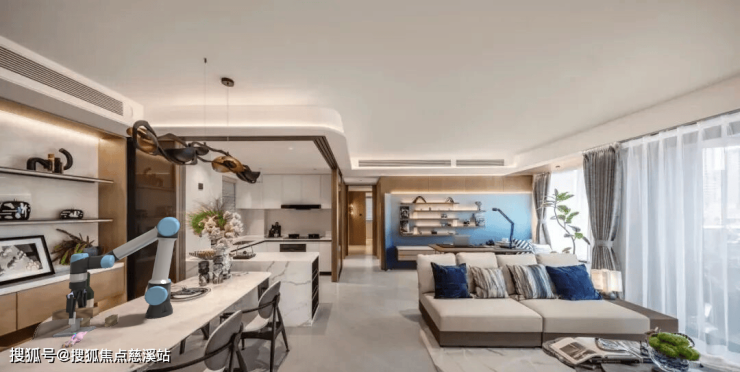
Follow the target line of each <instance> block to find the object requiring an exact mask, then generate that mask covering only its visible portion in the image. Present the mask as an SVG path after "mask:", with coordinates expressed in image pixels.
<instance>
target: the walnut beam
mask: <svg viewBox="0 0 740 372" xmlns="http://www.w3.org/2000/svg"><path fill="white" fill-rule="evenodd" d="M75 312H76V317H75V319H77V318H91V317H93V318H94V317H96V316H98V315H100V306H93V307H87V308H75ZM60 320H69V313H66V308H60V309H56V310H55V311H52V314H51V321H60Z"/></svg>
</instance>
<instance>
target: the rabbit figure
mask: <svg viewBox="0 0 740 372" xmlns="http://www.w3.org/2000/svg"><path fill="white" fill-rule="evenodd" d="M87 333H88V332H87V331H86V332H79V333H77V334H76V333H74V334H73V336H71V338H70V340H68V341H65V342H64V345H62V349H65V348H71V347H74V345H75V343H79V342H81V341H82V340H84V336H86V334H87Z"/></svg>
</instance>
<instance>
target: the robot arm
mask: <svg viewBox="0 0 740 372" xmlns="http://www.w3.org/2000/svg"><path fill="white" fill-rule="evenodd" d="M181 227H182V223H181V222H180V220H179V219H178V218H176V217H173V216H168V217H167V216H166V217H163V218H162V219H160V220H159V221H158V223H157V225H155V226H154V228H152V229H150V230H149V231H146V232H145V233H142V234H141V235H139V236H137V237H135V238H133V239H131V240H129V241H127V242H126V243H123V244H121V245H119V246H118V247H116V248H114V249H112V250H109V251H108V252H106V253H104V254H101V255H92V256H89V253H86V252H85V253H84V252H82V253H74V254H72V255H71V257H70V261H69V262H70V263H69V280H68V281H69V283H68V290H70V292H69V293H68V294H66V295H65V299H66V301H65V303H66V304H65V309H66V313H69V319H68V325H71V324H75V317H76V312H75V308H76V303H78V308H86V307H85V306H87V292H88V289H84V287H86V286H87V281H86V279H87V272H88V270H99V269H100V270H101V269H109V268H113V267H114V265H115V263H116V262H118V261H120V260H122V259H123V258H125V257H127V256H128V257H129V256H130V255H132V254H133V253H135V252H137V251H139V250H140V249H142V248H145V247H147V246H148V245H150V244H152V243H154V242H156V241H158V242H157V249H156V253H155V254H156V255H155V260H154V264H153V271H152V276H151V279H149V280H148V282H147V288H146V291H145V293H144V301H145V302H146V303H147V304H148V306H147V309H146V312H145V318H147V319H159V318H165V317H167V316H170V315H172V314H173V313H174V308H173V305H172V302H171V289H172V287H171V286H172V280H171V278H169V276H170V275H169V274H170V270H171V269H170V268H171V264H172V258H173V251H174V245H175V241H177V240H178V239H179V238H178V237H179V232H180V230H181ZM82 320H83V318H80V321H82Z"/></svg>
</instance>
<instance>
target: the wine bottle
mask: <svg viewBox="0 0 740 372" xmlns="http://www.w3.org/2000/svg"><path fill="white" fill-rule="evenodd" d="M86 281H87V286H86V287H84V289H88V292H87V306H85V307H86V308H87V307H94V303H95V298H94V297H95V291H94V290H93V288H92V287H91V286H90V285H91V272H90V271H87V279H86ZM76 308H78V303H76ZM93 318H94V317H91V318H90V320H91V319H93Z"/></svg>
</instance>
